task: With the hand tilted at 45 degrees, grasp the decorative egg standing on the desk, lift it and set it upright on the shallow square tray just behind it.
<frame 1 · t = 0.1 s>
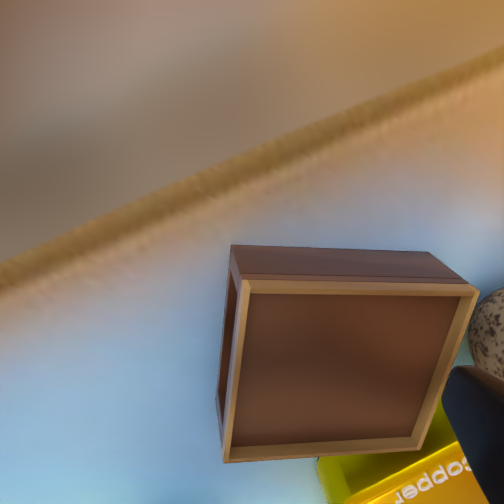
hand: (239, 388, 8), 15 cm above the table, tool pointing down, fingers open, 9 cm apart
decorative egg: (490, 307, 28), on the table
shallow square tray: (317, 328, 26), on the table
element tile: (424, 462, 34), on the table
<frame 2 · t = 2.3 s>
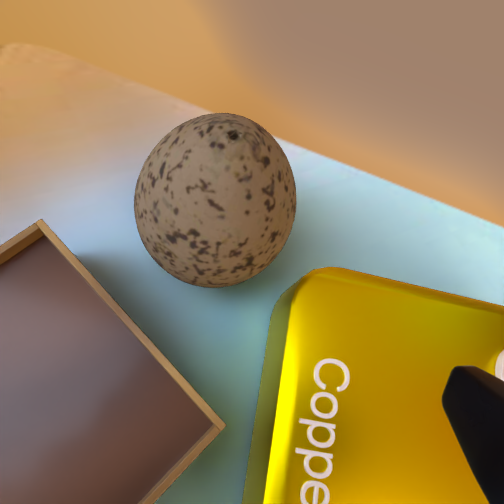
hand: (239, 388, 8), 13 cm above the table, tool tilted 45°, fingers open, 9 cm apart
decorative egg: (205, 241, 23), on the table
shallow square tray: (29, 428, 19), on the table
element tile: (391, 448, 22), on the table
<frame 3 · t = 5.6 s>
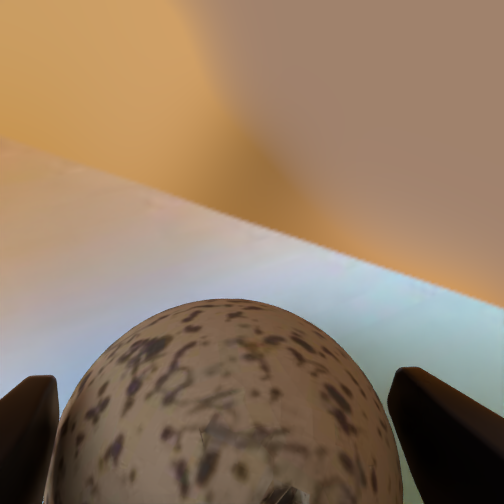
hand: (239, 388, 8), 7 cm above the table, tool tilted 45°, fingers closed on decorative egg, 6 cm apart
decorative egg: (202, 444, 14), on the table, touching gripper
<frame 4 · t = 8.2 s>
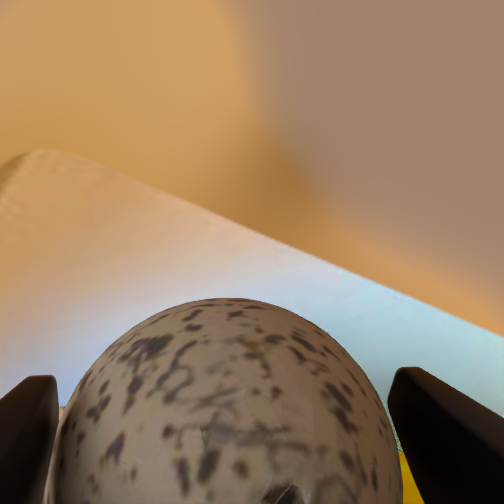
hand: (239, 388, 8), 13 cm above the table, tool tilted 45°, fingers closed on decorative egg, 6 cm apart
decorative egg: (203, 443, 14), point 7 cm above the table, touching gripper
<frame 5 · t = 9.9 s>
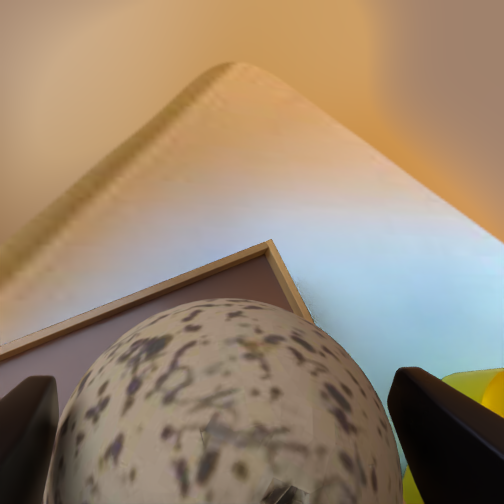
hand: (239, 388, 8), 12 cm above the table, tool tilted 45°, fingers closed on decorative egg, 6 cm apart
decorative egg: (202, 444, 14), point 5 cm above the table, touching gripper
shallow square tray: (182, 432, 19), on the table
when the fingers open (11 cm above the table, at t = 10.9 s): decorative egg stays where it is, resting on shallow square tray.
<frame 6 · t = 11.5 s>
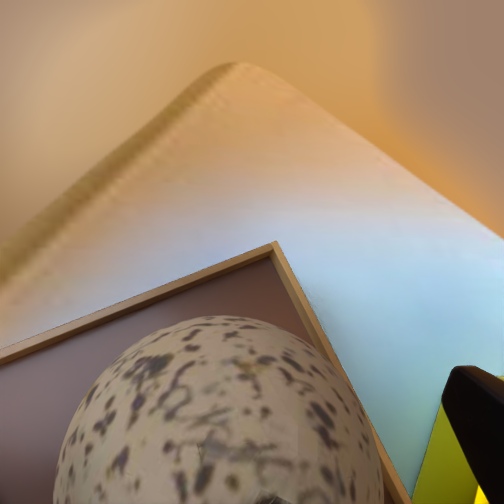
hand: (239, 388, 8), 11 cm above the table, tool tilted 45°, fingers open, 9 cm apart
decorative egg: (200, 449, 14), point 4 cm above the table, touching shallow square tray
shallow square tray: (184, 443, 18), on the table
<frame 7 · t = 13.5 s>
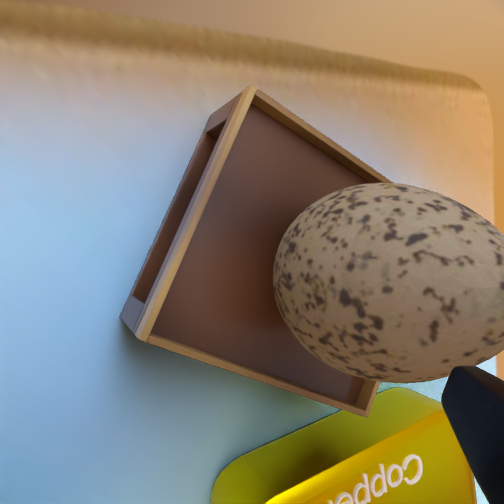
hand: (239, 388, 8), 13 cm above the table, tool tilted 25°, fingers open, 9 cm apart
decorative egg: (307, 270, 20), point 4 cm above the table, touching shallow square tray
shallow square tray: (265, 260, 23), on the table
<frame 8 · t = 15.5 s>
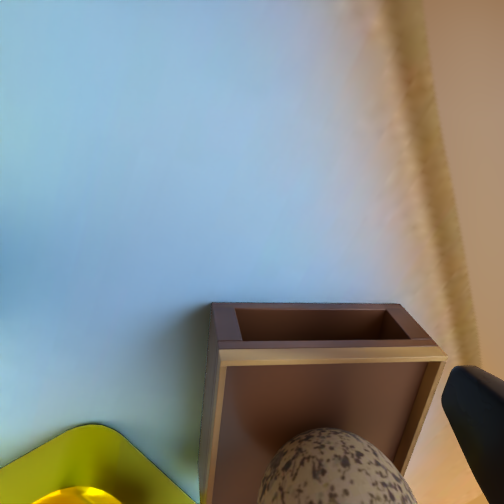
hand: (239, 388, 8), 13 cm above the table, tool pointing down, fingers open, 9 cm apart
decorative egg: (308, 442, 22), point 4 cm above the table, touching shallow square tray
shallow square tray: (293, 386, 26), on the table
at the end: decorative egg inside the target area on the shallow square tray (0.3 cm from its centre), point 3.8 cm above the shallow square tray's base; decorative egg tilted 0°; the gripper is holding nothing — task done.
